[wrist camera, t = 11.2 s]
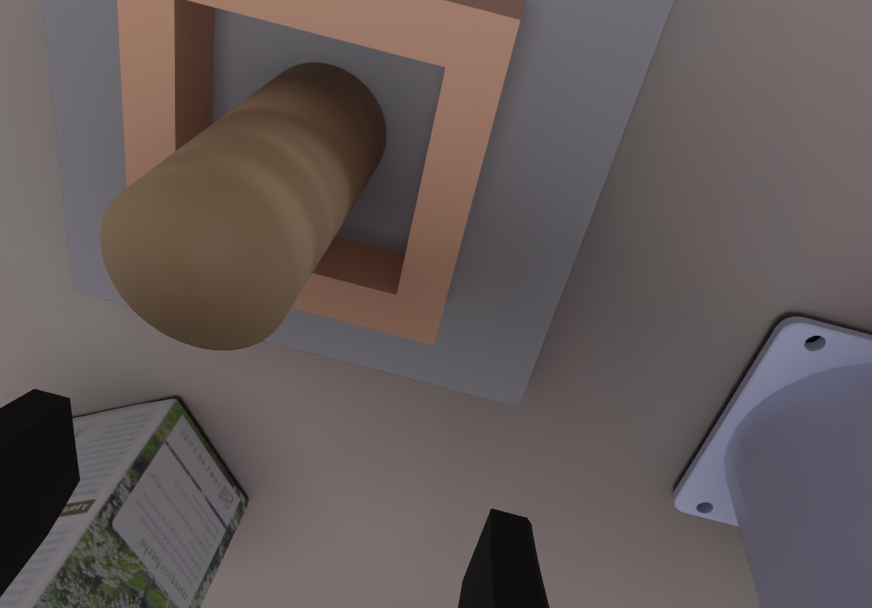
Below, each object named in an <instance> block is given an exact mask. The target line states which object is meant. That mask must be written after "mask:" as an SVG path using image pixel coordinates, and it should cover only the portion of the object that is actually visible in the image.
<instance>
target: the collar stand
mask: <svg viewBox="0 0 872 608" xmlns="http://www.w3.org/2000/svg"><path fill="white" fill-rule="evenodd" d="M673 3H674V0H42V8H43V18H44V27H45V36H46V45H47V54H48V63H49V72H50V81H51V90H52V99H53V109H54V118H55V127H56V136H57V145H58V154H59V163H60V172H61V181H62V191H63V200H64V209H65V218H66V227H67V236H68V245H69V254H70V263H71V272H72V282H73V291H75V292H79V293H83V294H87V295H91V296H94V297H98V298H102V299H106V300H110V301H114V302H117V303H121V304H125V305H128V304H127V303H126V301H125V300H124V299H123V298H122V297H121V295H120V294H119V292H118V291H117V289H116V288H115V286H114V284H113V282H112V281H111V279H110V277H109V275H108V272H107V270H106V267H105V264H104V261H103V257H102V252H101V244H100V233H101V226H102V221H103V218H104V215H105V213H106V210H107V209H108V207H109V205H110V204H111V202H112V201H113V200H114V199H115V197H116V196H117V195H118V194H119V193H121V192H122V191H123V190H124V189H126V188H127V187H128V186H130V185H131V184H132V183H134V182H135V181H136V180H138V179H139V178H140V177H142V176H143V175H144V174H146V173H147V172H148V171H150V170H151V169H152V168H154V167H155V166H157V165H158V164H159V163H161V162H162V161H163V160H165V159H166V158H167V157H169V156H170V155H171V154H173V153H174V152H175V151H177V150H178V149H179V148H181V147H182V146H183V145H185V144H186V143H188V142H189V141H190V140H192V139H193V138H194V137H196V136H197V135H198V134H200V133H201V132H202V131H204V130H205V129H206V128H208V127H209V126H210V125H212V124H213V123H215V122H216V121H217V120H219V119H220V118H221V117H223V116H224V115H225V114H227V113H228V112H229V111H231V110H232V109H233V108H235V107H236V106H237V105H239V104H240V103H241V102H243V101H244V100H246V99H247V98H248V97H250V96H251V95H252V94H254V93H255V92H256V91H258V90H259V89H260V88H262V87H263V86H264V85H266V84H267V83H268V82H270V81H271V80H273V79H274V78H275V77H277V76H278V75H279V74H281V73H282V72H283V71H285V70H287V69H289V68H290V67H293V66H296V65H299V64H303V63H312V62H317V63H326V64H330V65H334V66H337V67H340V68H342V69H344V70H346V71H348V72H350V73H351V74H353V75H354V76H355V77H357V78H358V79H359V80H360V81H362V82H363V83H364V84H365V85H366V86H367V88H368V89H369V90H370V91H371V92H372V94H373V95H374V97H375V98H376V100H377V102H378V104H379V105H380V108H381V110H382V113H383V116H384V120H385V124H386V146H385V151H384V154H383V157H382V159H381V161H380V163H379V165H378V167H377V168H376V170H375V171H374V173H373V175H372V176H371V178H370V180H369V181H368V183H367V185H366V186H365V188H364V189H363V191H362V193H361V194H360V196H359V198H358V199H357V201H356V202H355V204H354V206H353V207H352V209H351V211H350V212H349V214H348V216H347V217H346V219H345V220H344V222H343V224H342V225H341V227H340V229H339V230H338V232H337V234H336V235H335V237H334V238H333V240H332V242H331V243H330V245H329V247H328V248H327V250H326V251H325V253H324V255H323V256H322V258H321V260H320V261H319V263H318V265H317V266H316V268H315V269H314V271H313V273H312V274H311V276H310V278H309V279H308V281H307V283H306V284H305V286H304V287H303V289H302V291H301V292H300V294H299V296H298V297H297V299H296V300H295V302H294V304H293V305H292V307H291V309H290V310H289V312H288V314H287V315H286V317H285V318H284V320H283V322H282V323H281V325H280V326H279V327H278V328H277V329H276V331H275V332H274V333H272V334H271V335H270V336H269V337H267V338H266V339H264V340H263V341H267V342H271V343H274V344H278V345H282V346H286V347H290V348H294V349H297V350H301V351H305V352H309V353H313V354H317V355H320V356H324V357H328V358H332V359H336V360H339V361H343V362H347V363H351V364H355V365H359V366H362V367H366V368H370V369H374V370H378V371H382V372H385V373H389V374H393V375H397V376H401V377H405V378H408V379H412V380H416V381H420V382H424V383H428V384H431V385H435V386H439V387H443V388H447V389H451V390H454V391H458V392H462V393H466V394H470V395H474V396H477V397H481V398H485V399H489V400H493V401H497V402H500V403H504V404H508V405H512V406H516V407H519V406H520V403H521V400H522V398H523V395H524V393H525V390H526V387H527V385H528V382H529V380H530V377H531V374H532V372H533V369H534V366H535V364H536V361H537V359H538V356H539V353H540V351H541V348H542V346H543V343H544V340H545V338H546V335H547V332H548V330H549V327H550V325H551V322H552V319H553V317H554V314H555V311H556V309H557V306H558V304H559V301H560V298H561V296H562V293H563V291H564V288H565V285H566V283H567V280H568V277H569V275H570V272H571V270H572V267H573V264H574V262H575V259H576V257H577V254H578V251H579V249H580V246H581V243H582V241H583V238H584V236H585V233H586V230H587V228H588V225H589V223H590V220H591V217H592V215H593V212H594V209H595V207H596V204H597V202H598V199H599V196H600V194H601V191H602V189H603V186H604V183H605V181H606V178H607V175H608V173H609V170H610V168H611V165H612V162H613V160H614V157H615V155H616V152H617V149H618V147H619V144H620V141H621V139H622V136H623V134H624V131H625V128H626V126H627V123H628V121H629V118H630V115H631V113H632V110H633V107H634V105H635V102H636V100H637V97H638V94H639V92H640V89H641V87H642V84H643V81H644V79H645V76H646V73H647V71H648V68H649V66H650V63H651V60H652V58H653V55H654V53H655V50H656V47H657V45H658V42H659V39H660V37H661V34H662V32H663V29H664V26H665V24H666V21H667V18H668V16H669V13H670V11H671V8H672V5H673Z"/></svg>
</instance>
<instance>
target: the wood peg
mask: <svg viewBox="0 0 872 608" xmlns="http://www.w3.org/2000/svg"><path fill="white" fill-rule="evenodd" d="M385 146H386V124H385V120H384V116H383V113H382V110H381V108H380V105H379V104H378V102H377V100H376V98H375V97H374V95H373V94H372V92H371V91H370V90H369V89H368V88H367V86H366V85H365V84H364V83H363V82H362V81H360V80H359V79H358V78H357V77H355V76H354V75H353V74H351V73H350V72H348V71H346V70H344V69H342V68H340V67H337V66H334V65H330V64H326V63H317V62H312V63H303V64H299V65H296V66H293V67H290V68H289V69H287V70H285V71H283V72H282V73H281V74H279V75H278V76H277V77H275V78H274V79H273V80H271V81H270V82H268V83H267V84H266V85H264V86H263V87H262V88H260V89H259V90H258V91H256V92H255V93H254V94H252V95H251V96H250V97H248V98H247V99H246V100H244V101H243V102H241V103H240V104H239V105H237V106H236V107H235V108H233V109H232V110H231V111H229V112H228V113H227V114H225V115H224V116H223V117H221V118H220V119H219V120H217V121H216V122H215V123H213V124H212V125H210V126H209V127H208V128H206V129H205V130H204V131H202V132H201V133H200V134H198V135H197V136H196V137H194V138H193V139H192V140H190V141H189V142H188V143H186V144H185V145H183V146H182V147H181V148H179V149H178V150H177V151H175V152H174V153H173V154H171V155H170V156H169V157H167V158H166V159H165V160H163V161H162V162H161V163H159V164H158V165H157V166H155V167H154V168H152V169H151V170H150V171H148V172H147V173H146V174H144V175H143V176H142V177H140V178H139V179H138V180H136V181H135V182H134V183H132V184H131V185H130V186H128V187H127V188H126V189H124V190H123V191H122V192H121V193H119V194H118V195H117V196H116V197H115V199H114V200H113V201H112V202H111V204H110V205H109V207H108V209H107V210H106V213H105V215H104V218H103V221H102V226H101V233H100V244H101V252H102V257H103V261H104V264H105V267H106V270H107V272H108V275H109V277H110V279H111V281H112V282H113V284H114V286H115V288H116V289H117V291H118V292H119V294H120V295H121V297H122V298H123V299H124V300H125V301H126V303H127V304H128V305H129V306H130V307H131V308H132V309H133V310H134V311H135V312H136V313H137V314H138V315H139V316H140V317H141V318H142V319H144V320H145V321H146V322H147V323H148V324H150V325H151V326H153V327H154V328H156V329H157V330H159V331H160V332H162V333H164V334H166V335H167V336H169V337H171V338H173V339H176V340H178V341H180V342H183V343H186V344H189V345H191V346H195V347H199V348H204V349H211V350H236V349H241V348H246V347H249V346H252V345H254V344H257V343H259V342H261V341H263V340H264V339H266V338H267V337H269V336H270V335H271V334H272V333H274V332H275V331H276V329H277V328H278V327H279V326H280V325H281V323H282V322H283V320H284V318H285V317H286V315H287V314H288V312H289V310H290V309H291V307H292V305H293V304H294V302H295V300H296V299H297V297H298V296H299V294H300V292H301V291H302V289H303V287H304V286H305V284H306V283H307V281H308V279H309V278H310V276H311V274H312V273H313V271H314V269H315V268H316V266H317V265H318V263H319V261H320V260H321V258H322V256H323V255H324V253H325V251H326V250H327V248H328V247H329V245H330V243H331V242H332V240H333V238H334V237H335V235H336V234H337V232H338V230H339V229H340V227H341V225H342V224H343V222H344V220H345V219H346V217H347V216H348V214H349V212H350V211H351V209H352V207H353V206H354V204H355V202H356V201H357V199H358V198H359V196H360V194H361V193H362V191H363V189H364V188H365V186H366V185H367V183H368V181H369V180H370V178H371V176H372V175H373V173H374V171H375V170H376V168H377V167H378V165H379V163H380V161H381V159H382V157H383V154H384V151H385Z"/></svg>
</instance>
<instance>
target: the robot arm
mask: <svg viewBox="0 0 872 608" xmlns="http://www.w3.org/2000/svg"><path fill="white" fill-rule="evenodd" d="M812 336H820V338H819V339H818V340H817V341H814V342H812V343H805V341H806V340H807V339H808V338H809V337H812ZM79 481H80V474H79V466H78V459H77V451H76V443H75V435H74V427H73V419H72V411H71V404H70V398H67V397H64V396H60V395H56V394H52V393H48V392H44V391H41V390H37V389H33V390H32V391H30V392H28V393H26V394H24V395H23V396H21V397H19V398H17V399H16V400H14V401H12V402H10V403H8V404H7V405H5V406H3V407H2V408H0V597H1V596H2V595H3V593H4V592H5V591H6V589H7V588H8V587H9V586H10V584H11V583H12V582H13V580H14V579H15V578H16V576H17V575H18V574H19V573H20V571H21V570H22V569H23V567H24V566H25V565H26V563H27V562H28V561H29V559H30V558H31V557H32V555H33V554H34V553H35V552H36V550H37V549H38V548H39V546H40V545H41V543H42V542H43V541H44V539H45V538H46V537H47V535H48V534H49V532H50V530H51V529H52V527H53V526H54V524H55V522H56V521H57V519H58V517H59V516H60V514H61V513H62V511H63V509H64V507H65V506H66V504H67V502H68V501H69V499H70V497H71V495H72V494H73V492H74V490H75V488H76V487H77V485H78V483H79ZM673 501H674V505H675V507H676V508H677V509H678V510H679V511H681V512H684V513H688V514H691V515H695V516H699V517H703V518H707V519H711V520H714V521H718V522H722V523H726V524H730V525H734V526H737V527H739V529H740V533H741V536H742V540H743V543H744V547H745V551H746V554H747V558H748V561H749V565H750V569H751V572H752V576H753V580H754V583H755V587H756V590H757V594H758V598H759V601H760V605H761V608H872V335H870V334H866V333H862V332H858V331H854V330H850V329H847V328H843V327H839V326H835V325H831V324H827V323H824V322H820V321H816V320H812V319H808V318H804V317H796V316H795V317H790V318H786V319H785V320H783V321H781V322H780V323H779V324H778V325H777V326H776V327H775V329H774V331H773V332H772V334H771V335H770V337H769V339H768V340H767V342H766V344H765V345H764V347H763V348H762V350H761V352H760V353H759V355H758V356H757V358H756V360H755V361H754V363H753V365H752V366H751V368H750V369H749V371H748V373H747V374H746V376H745V378H744V379H743V381H742V382H741V384H740V386H739V387H738V389H737V390H736V392H735V394H734V395H733V397H732V399H731V400H730V402H729V403H728V405H727V407H726V408H725V410H724V411H723V413H722V415H721V416H720V418H719V420H718V421H717V423H716V424H715V426H714V428H713V429H712V431H711V433H710V434H709V436H708V437H707V439H706V441H705V442H704V444H703V445H702V447H701V449H700V450H699V452H698V454H697V455H696V457H695V458H694V460H693V462H692V463H691V465H690V467H689V468H688V470H687V471H686V473H685V475H684V476H683V478H682V479H681V481H680V483H679V484H678V486H677V488H676V489H675V491H674V493H673ZM703 502H707V503H705V504H700V503H703ZM458 608H549V604H548V600H547V596H546V592H545V588H544V584H543V580H542V576H541V572H540V567H539V563H538V558H537V553H536V548H535V543H534V537H533V531H532V525H531V523H530V521H529V520H528V518H526V517H522V516H518V515H514V514H510V513H507V512H503V511H499V510H495V509H491V510H490V513H489V516H488V518H487V521H486V523H485V526H484V528H483V531H482V533H481V536H480V538H479V541H478V543H477V546H476V548H475V551H474V553H473V556H472V558H471V561H470V563H469V566H468V568H467V571H466V574H465V576H464V579H463V582H462V588H461V593H460V599H459V605H458Z"/></svg>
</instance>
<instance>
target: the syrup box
mask: <svg viewBox="0 0 872 608" xmlns="http://www.w3.org/2000/svg"><path fill="white" fill-rule="evenodd" d="M72 419H73V427H74V435H75V443H76V451H77V459H78V466H79V474H80V481H79V483H78V485H77V487H76V488H75V490H74V492H73V494H72V495H71V497H70V499H69V501H68V502H67V504H66V506H65V507H64V509H63V511H62V513H61V514H60V516H59V517H58V519H57V521H56V522H55V524H54V526H53V527H52V529H51V530H50V532H49V534H48V535H47V537H46V538H45V539H44V541H43V542H42V543H41V545H40V546H39V548H38V549H37V550H36V552H35V553H34V554H33V555H32V557H31V558H30V559H29V561H28V562H27V563H26V565H25V566H24V567H23V569H22V570H21V571H20V573H19V574H18V575H17V576H16V578H15V579H14V580H13V582H12V583H11V584H10V586H9V587H8V588H7V589H6V591H5V592H4V593H3V595H2V596H1V597H0V608H200V606H201V604H202V602H203V600H204V598H205V596H206V594H207V591H208V589H209V587H210V585H211V583H212V581H213V579H214V577H215V575H216V572H217V570H218V567H219V565H220V563H221V561H222V559H223V557H224V555H225V552H226V550H227V548H228V545H229V543H230V541H231V539H232V537H233V535H234V534H235V531H236V529H237V527H238V525H239V523H240V521H241V518H242V516H243V514H244V512H245V510H246V507H247V505H248V502H247V500H246V499H245V497H244V496H243V494H242V493H241V491H240V490H239V488H238V487H237V485H236V484H235V483H234V481H233V480H232V478H231V477H230V475H229V474H228V472H227V471H226V470H225V468H224V467H223V465H222V464H221V462H220V461H219V460H218V458H217V456H216V455H215V454H214V452H213V450H212V449H211V447H210V446H209V444H208V443H207V442H206V440H205V439H204V437H203V436H202V435H201V433H200V432H199V430H198V428H197V427H196V425H195V424H194V422H193V421H192V419H191V418H190V416H189V415H188V413H187V412H186V411H185V409H184V408H183V406H182V405H181V404H180V402H179V401H178V400H177V399H168V400H162V401H155V402H150V403H144V404H138V405H133V406H129V407H124V408H119V409H115V410H110V411H105V412H100V413H96V414H91V415H87V416H82V417H77V418H72Z"/></svg>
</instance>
